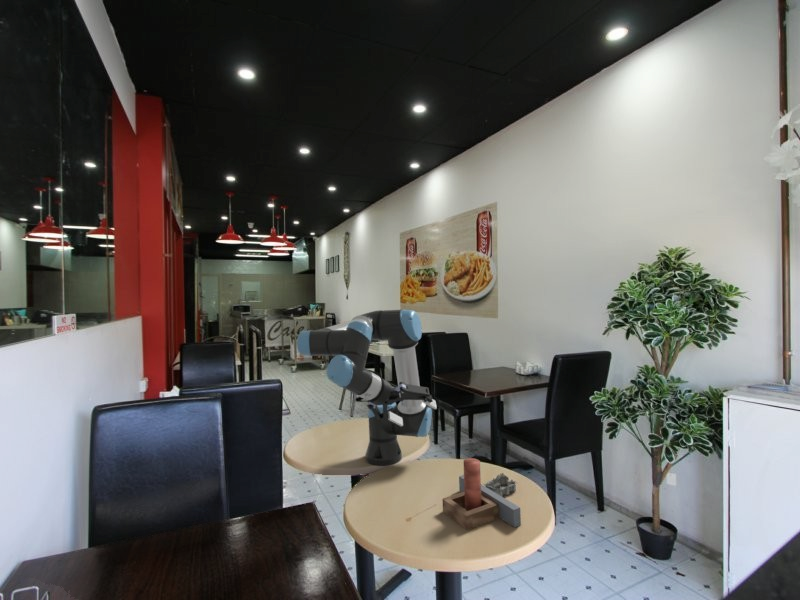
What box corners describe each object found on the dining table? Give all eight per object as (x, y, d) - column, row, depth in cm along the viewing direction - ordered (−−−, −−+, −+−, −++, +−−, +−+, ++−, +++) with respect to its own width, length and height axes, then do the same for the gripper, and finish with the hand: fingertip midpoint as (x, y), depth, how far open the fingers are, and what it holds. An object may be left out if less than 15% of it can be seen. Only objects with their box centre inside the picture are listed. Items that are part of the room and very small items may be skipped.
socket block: (442, 511, 124) (442, 498, 124) (473, 501, 129) (472, 488, 129) (467, 530, 113) (466, 516, 113) (498, 517, 119) (498, 504, 119)
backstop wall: (459, 490, 137) (459, 476, 137) (465, 489, 138) (464, 474, 138) (514, 527, 114) (513, 509, 114) (520, 524, 115) (520, 507, 115)
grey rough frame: (503, 483, 142) (503, 471, 142) (520, 491, 135) (519, 479, 135) (481, 491, 136) (481, 479, 136) (497, 500, 130) (496, 487, 130)
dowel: (462, 512, 123) (460, 460, 123) (474, 507, 125) (473, 457, 125) (472, 519, 118) (470, 466, 118) (485, 515, 121) (483, 462, 121)
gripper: (342, 417, 116) (389, 439, 129) (408, 380, 106) (452, 408, 119) (342, 395, 122) (387, 418, 134) (405, 358, 112) (447, 387, 124)
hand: (418, 413), depth 126 cm, fingers open, 13 cm apart
